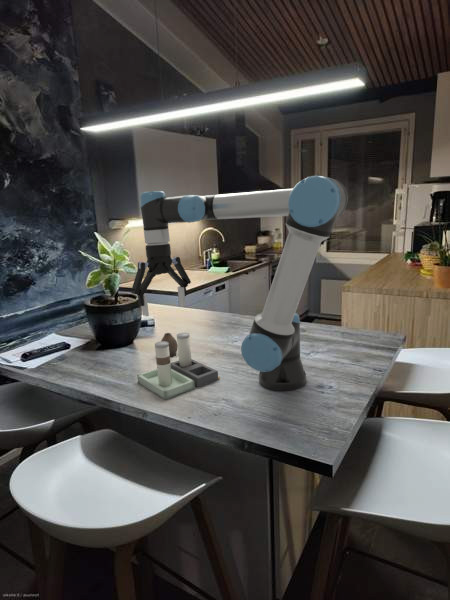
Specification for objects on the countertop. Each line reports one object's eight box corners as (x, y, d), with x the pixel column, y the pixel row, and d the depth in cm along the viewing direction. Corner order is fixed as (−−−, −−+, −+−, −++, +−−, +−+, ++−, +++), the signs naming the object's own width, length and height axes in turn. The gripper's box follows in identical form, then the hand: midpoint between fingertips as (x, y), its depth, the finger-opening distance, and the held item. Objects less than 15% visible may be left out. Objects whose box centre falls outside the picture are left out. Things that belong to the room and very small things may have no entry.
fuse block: (219, 378, 136) (219, 370, 136) (198, 386, 131) (198, 378, 130) (190, 364, 150) (189, 357, 149) (169, 371, 145) (169, 363, 144)
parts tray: (194, 388, 130) (194, 380, 130) (165, 399, 124) (164, 391, 123) (166, 372, 144) (165, 365, 144) (138, 382, 138) (137, 374, 137)
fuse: (194, 371, 144) (191, 334, 140) (184, 375, 141) (181, 337, 138) (187, 368, 147) (184, 331, 144) (177, 371, 144) (174, 334, 141)
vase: (157, 356, 160) (155, 335, 158) (167, 350, 166) (165, 330, 164) (171, 358, 157) (169, 337, 155) (181, 352, 163) (179, 332, 161)
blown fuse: (174, 383, 133) (171, 343, 130) (162, 387, 131) (158, 346, 128) (167, 379, 137) (164, 340, 134) (156, 383, 134) (152, 343, 131)
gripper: (184, 239, 135) (190, 301, 139) (114, 248, 120) (123, 317, 124) (197, 239, 129) (203, 304, 134) (125, 248, 114) (134, 321, 118)
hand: (164, 311), depth 129 cm, fingers open, 13 cm apart
